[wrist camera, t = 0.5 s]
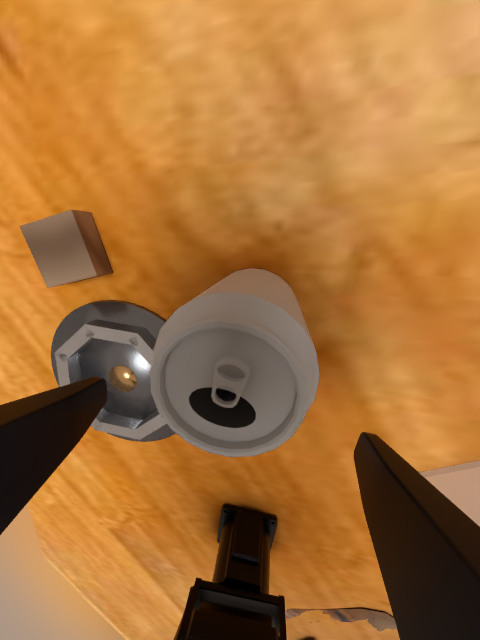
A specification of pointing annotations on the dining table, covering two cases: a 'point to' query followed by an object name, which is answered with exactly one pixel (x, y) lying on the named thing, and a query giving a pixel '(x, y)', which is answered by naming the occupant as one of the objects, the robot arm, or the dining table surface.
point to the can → (236, 366)
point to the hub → (113, 364)
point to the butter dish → (459, 486)
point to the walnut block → (67, 248)
